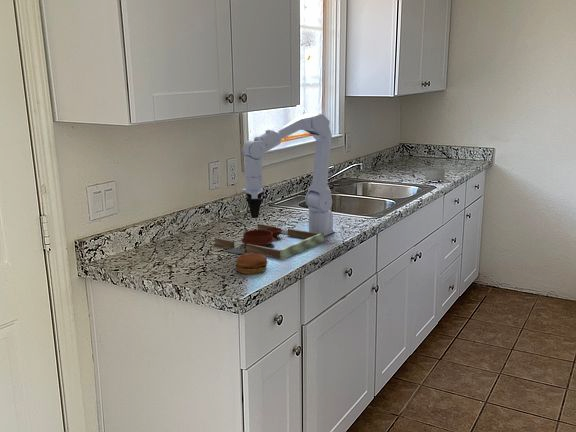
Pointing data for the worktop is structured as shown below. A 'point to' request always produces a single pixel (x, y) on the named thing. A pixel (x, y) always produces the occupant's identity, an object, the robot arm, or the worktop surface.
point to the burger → (251, 263)
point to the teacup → (435, 173)
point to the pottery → (261, 236)
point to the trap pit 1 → (235, 251)
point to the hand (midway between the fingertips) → (254, 215)
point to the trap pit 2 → (284, 232)
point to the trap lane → (283, 253)
